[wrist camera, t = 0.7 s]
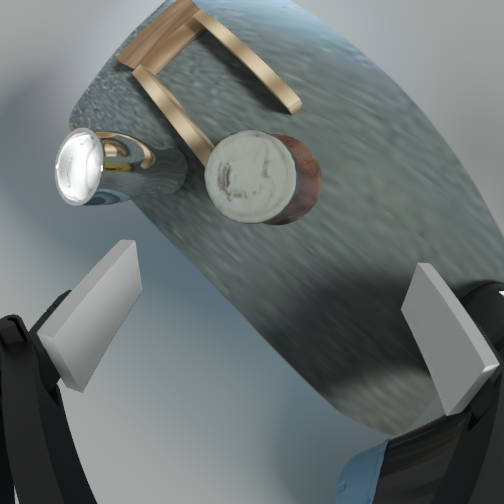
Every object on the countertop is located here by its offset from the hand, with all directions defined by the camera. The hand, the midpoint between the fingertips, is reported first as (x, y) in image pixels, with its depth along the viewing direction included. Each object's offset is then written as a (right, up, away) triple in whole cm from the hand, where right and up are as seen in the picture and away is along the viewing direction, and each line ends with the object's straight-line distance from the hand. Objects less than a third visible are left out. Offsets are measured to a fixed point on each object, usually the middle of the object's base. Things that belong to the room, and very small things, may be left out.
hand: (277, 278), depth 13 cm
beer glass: (-11, +11, +21) cm, 27 cm away
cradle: (-7, +22, +17) cm, 29 cm away
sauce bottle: (+3, +9, +18) cm, 20 cm away
